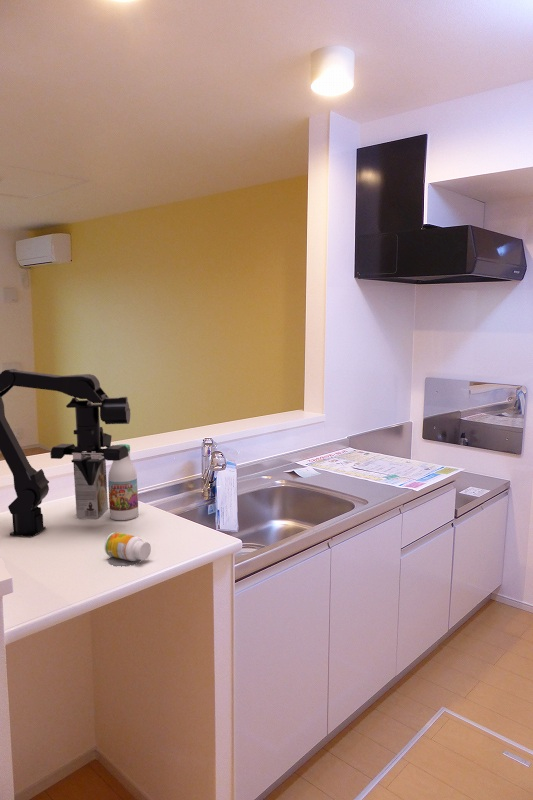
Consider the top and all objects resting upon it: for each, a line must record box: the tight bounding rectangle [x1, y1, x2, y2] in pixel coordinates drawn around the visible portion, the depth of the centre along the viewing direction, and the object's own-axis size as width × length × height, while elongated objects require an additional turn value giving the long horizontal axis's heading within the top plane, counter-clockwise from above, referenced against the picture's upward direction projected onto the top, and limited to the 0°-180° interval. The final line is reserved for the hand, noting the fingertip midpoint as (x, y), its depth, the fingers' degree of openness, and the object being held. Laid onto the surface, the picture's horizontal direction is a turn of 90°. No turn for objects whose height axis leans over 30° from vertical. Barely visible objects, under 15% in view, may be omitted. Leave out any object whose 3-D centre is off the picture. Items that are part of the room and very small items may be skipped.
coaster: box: [107, 556, 142, 568], centre depth 132 cm, size 8×8×1 cm
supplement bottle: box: [103, 531, 152, 561], centre depth 131 cm, size 5×5×10 cm
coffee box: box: [72, 460, 109, 519], centre depth 164 cm, size 9×6×16 cm
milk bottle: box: [107, 443, 139, 521], centre depth 161 cm, size 8×8×20 cm
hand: (91, 485), depth 149 cm, fingers closed
